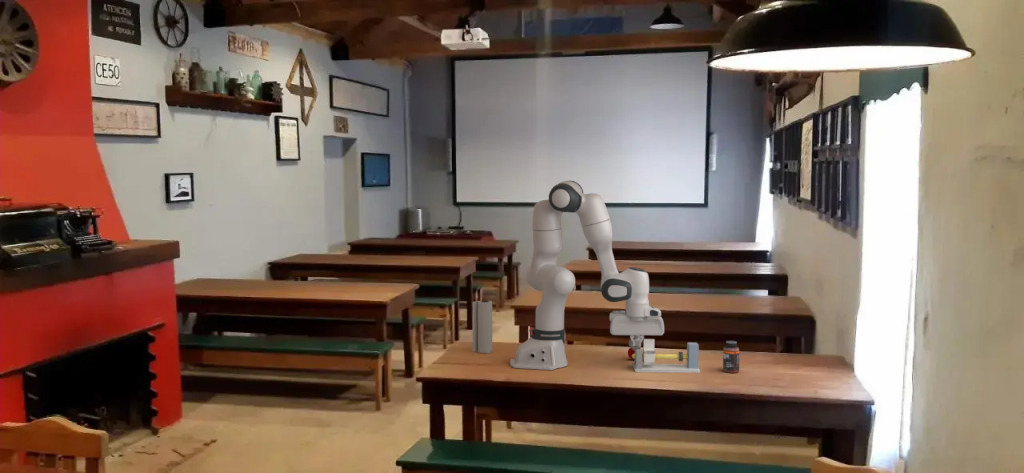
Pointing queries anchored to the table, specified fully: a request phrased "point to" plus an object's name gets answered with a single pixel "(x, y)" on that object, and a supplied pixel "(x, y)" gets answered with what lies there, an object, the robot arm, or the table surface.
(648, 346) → the marker sleeve
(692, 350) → the cord rig
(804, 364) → the table surface
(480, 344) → the grey grooved column
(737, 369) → the supplement bottle
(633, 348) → the molecular model
